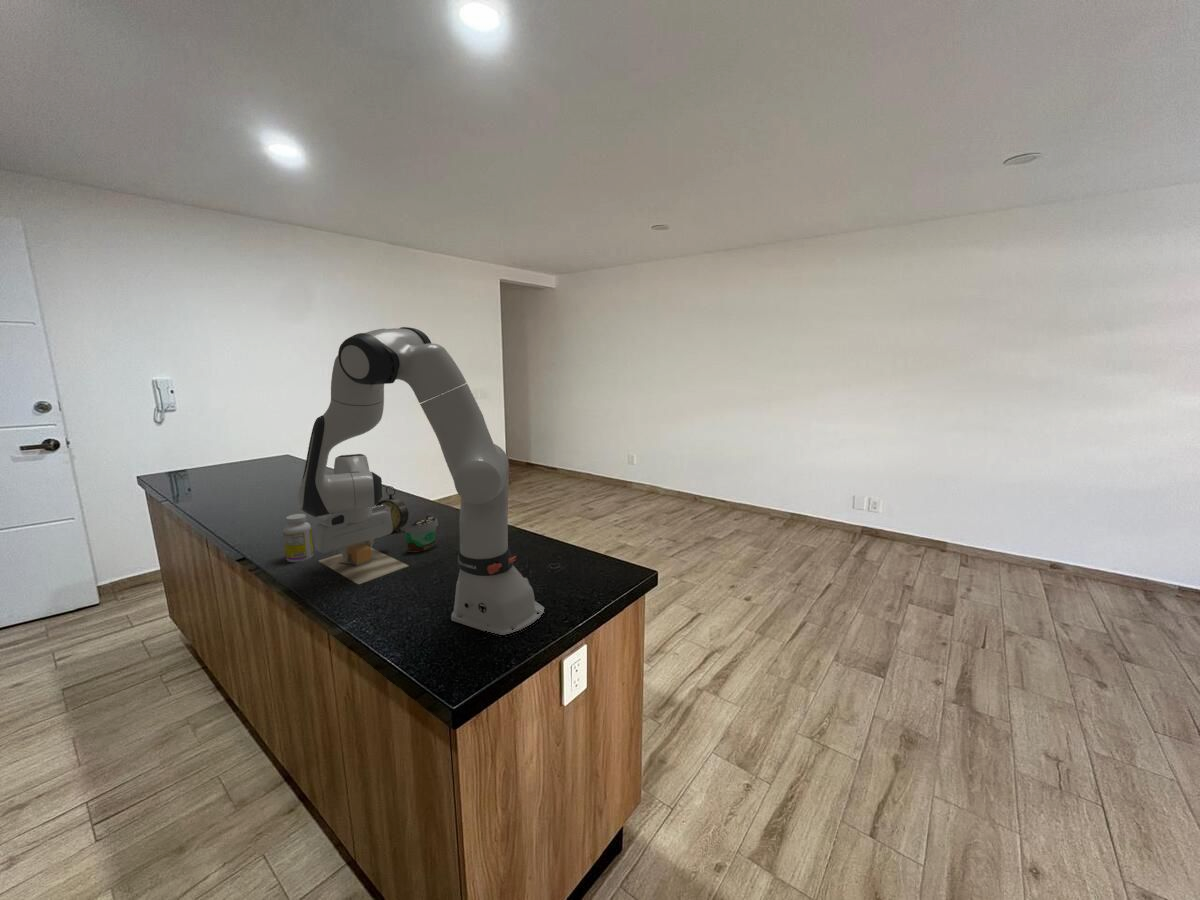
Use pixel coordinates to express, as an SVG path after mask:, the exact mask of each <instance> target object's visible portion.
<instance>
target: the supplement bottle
mask: <svg viewBox="0 0 1200 900" xmlns="http://www.w3.org/2000/svg"><path fill="white" fill-rule="evenodd" d="M285 520H286V521H285V522H286V523H287V525H285V526H284V527H283V529H282V530H283V539H284V550H285V559H286V560H287V561H286V562H289V563H301V562H300V561H302V562H305V561H308V560H310V559H312V558H313V556H314V543H313V536H312V535H313V534H312V526H311V524H310V523H309V522H307V516H306V513H295V514H290V515H288V516H286V519H285Z"/></svg>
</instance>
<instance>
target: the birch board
mask: <svg viewBox="0 0 1200 900" xmlns="http://www.w3.org/2000/svg"><path fill="white" fill-rule="evenodd" d="M371 556H372V562H369V563H366V564H363V565H360V566H356V565H354V564H353V563H351V562H349V561H348V562H345V561H344V560H343V555H342V554H341V553H339V554H335V555H332V556H329V557H326V558H323V559H319V560H318V562H319V563H321V564H322V565H324V566H326V567H327V568H330V569H331V570H333V571H335V572H336V573H338V574H339V575H342V576H343V577H345V578H347V579H348V580H350V581H352V582H353V583H355V584H357V585H362V584H364V583H367V582H370V581H372V580H376V579H378V578H380V577H384V576H386V575H388V574H391V573H394V572H397V571H399V570H403V569H405V568H408V567H409V565H408V564H407V563H404V562H403V561H401V560H398V559H396V558H395V557H391V556H389V555H387V554H386V553H383V552H381V551H379V550H376V549H375V548H373V547H372V548H371Z"/></svg>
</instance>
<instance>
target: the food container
mask: <svg viewBox="0 0 1200 900" xmlns="http://www.w3.org/2000/svg"><path fill="white" fill-rule="evenodd" d="M404 526H405V527H404V534H405V536H406V544H407V552H410V553H412V552H413V553H417V552H424V551H428V550H430V549H432V548H434V547H435V546H436V533H437V530H436V529H437V527H438V526H439V521H438V518H437V517H436V515H433V514H431V513H426V517H424V518H422V519H419V520H416V521H415V522H414V523H412V524H411V525H407V524H405V525H404Z"/></svg>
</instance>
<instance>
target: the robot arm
mask: <svg viewBox="0 0 1200 900" xmlns="http://www.w3.org/2000/svg"><path fill="white" fill-rule="evenodd" d="M337 353H338V354H337V356H336V357H335V359H334V361H333V367H332V371H331V380H330V402H329V405H328V407H327V410H325V412H324V413H323V414H322V415H320V416H319V417H316V419H315V421H314V423H313V426H312V430H311V434H310V439H309V442H308V448H307V449H308V450H307V455H306V460H305V465H304V471H303V475H302V479H301V483H300V486H299V489H298V495H297V497H298V499H297V500H298V504H299V507H300V509H301V511H303V512H304V513H305V514H307V515H310V516H312V517H314V518H315V520H316V521H317V522H318V524H317V525H316V526H315V528H314V535H313V536H314V537H313V538H314V539H313V541H314V543H313V546H314V549H315V550H316V551H317V552H319V553H321V554H323V555H325V554H326V553H328V554H329V553H331V552H333V551H338V552H339V554H342V555H343V560H344V561H345V562H348V561H351V560H352V558H351V554H349V553H346V552H345V551H346V550H347V547H348V546H352V545H355V544H359V543H362V544H363V543H365V542H366V544H365V545H366V546H368V547H370V548H373V545H374V544H375V539H379V538H382V537H386V536H389V535H391V534H392V533H393V532H394V531H393V526H392V520H391V516H390V515H391V508H390V507H389V506H388V505H385V504H381V505H379V506H376V504H377V503H378V502H380V501H382V498H383V485H382V482H383V481H382V477H381V476H380V475H378V474H376V473H375V472H373V471H371V470H370V467H369V461H368V457H367V456H366V455H365V454H363V453H356V454H355V453H354V454H342V455H339V456H337V457H335V458H334V464H333V474H326V471H327V465H328V461H329V455H330V452H331V451H332V449H334V447H336V446H337V445H339V444H341V443H343V442H345V441H347V440H350V439H352V438H355V437H358V436H362V435H364V434H366V433H368V432H370V431H371V430H373V429H374V428H375V427H376V426H378V424H380V422H381V420H382V417H383V413H384V406H385V405H384V403H385V385H386V384H388V385H389V384H393V383H395V381H396V380H398V381H399V380H400V381H403V382H405V383H407V385H409V386H410V388H411V390H412V391H413V393H414V395H415V398H416V399H417V401H418V403H419V405H420V407H421V409H422V411H423V413H424V415H425V416H426V419H427V420H428V422H429V424H430V426H431V428H432V430H433V432H434V434H435V437H436V438H437V440H438V443H439V445H440V449H441V451H442V455H443V458H444V461H445V462H446V465H447V468H448V470H449V473H450V475H451V478H452V480H453V483H454V488H455V490H456V493H457V494H458V495H459V496H460V508H459V518H458V520H459V550H458V552H457V553H458V554H457V567H458V569H459V573H458V577H457V581H456V585H455V592H454V593H455V595H454V603H453V610H452V613H451V615H450V619H451V621H452V622H456V623H458V624H462V625H465V626H468V627H470V628H474V629H477V630H480V631H483V632H485V631H487V632H486V633H488V632H491V633H495V634H499V635H506V634H510V633H513V632H516V631H519V630H521V629H523V628H525V627H527V626H529V625H531V624H532V623H534V622H535V621H536V620H537V619H539V618H540V617H541V615H542V614H543V613H544V614H545V612H544V609H545V606H543V605H541V604H540V603H538V602H537V601H536V600H535V593H534V589H533V586H531V584H530V581H529V579H528V578H527V577H523V575H522V574H521V572H520V571H519V570H518V569H517V568H516V566H514V562H515V561H517V559H515V558H517V555H514V556H512V553H511V550H510V547H509V546H508V545H509V542H508V539H509V535H508V533H509V532H508V531H509V529H508V528H509V525H508V523H509V522H508V521H509V520H508V518H509V514H508V513H509V485H510V484H509V482H510V480H509V479H510V478H509V477H510V475H509V473H510V467H509V466H510V464H509V463H510V462H509V459H508V455H507V453H506V452H505V450H504V449H503V448H501V446H499V445H498V444H495V443H494V441H493V439H492V436H491V434H490V432H489V428H488V425H487V423H486V421H485V417H484V414H483V412H482V411H481V408H480V406H479V405H478V403H477V400H476V399H475V396H474V395H473V393H472V391H471V389H470V386H469V384H468V383H467V380H466V379H465V377H464V374H463V373H462V371H461V370H460V368H459V367H458V365H457V364H456V362H455V360H454V359H453V358H452V355H450V353H449V352H448V351H447V349H446V348H445V347H444V346H442V345H440V344H438V343H433V342H432V341H431V339H430V337H428V335H427V334H426V333H425V332H423V331H422V330H420V329H417V328H413V327H408V326H403V327H399V328H379V329H378V328H377V329H373V330H370V331H367V332H360V333H359V332H358V333H355V334H354V335H351V336H350V337H348V338H345V340H343V342H342V343H341V344H340V346H339V348H338V351H337ZM386 506H387V507H386ZM392 531H393V532H392ZM537 613H539V614H537ZM512 629H513V630H512ZM491 633H490V634H491ZM495 634H494V635H495Z"/></svg>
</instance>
